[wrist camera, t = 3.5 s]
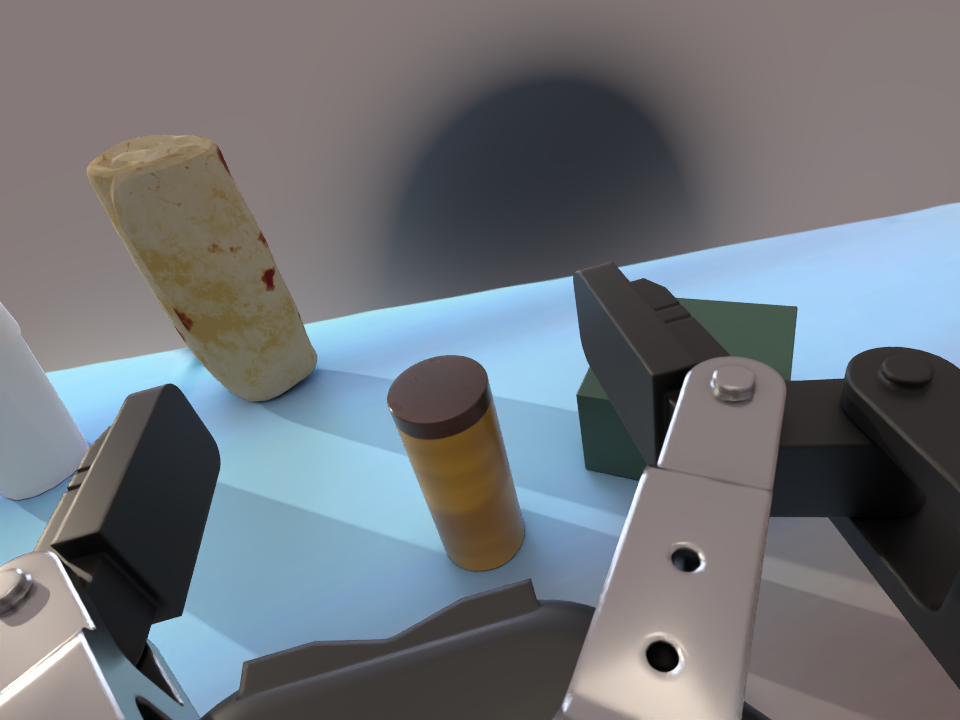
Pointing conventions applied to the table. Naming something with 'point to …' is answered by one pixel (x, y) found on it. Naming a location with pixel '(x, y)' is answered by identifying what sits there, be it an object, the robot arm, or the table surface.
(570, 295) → the table surface
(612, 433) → the block
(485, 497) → the lidded jar
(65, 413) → the foam cup
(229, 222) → the food model
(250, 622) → the table surface
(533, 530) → the table surface
